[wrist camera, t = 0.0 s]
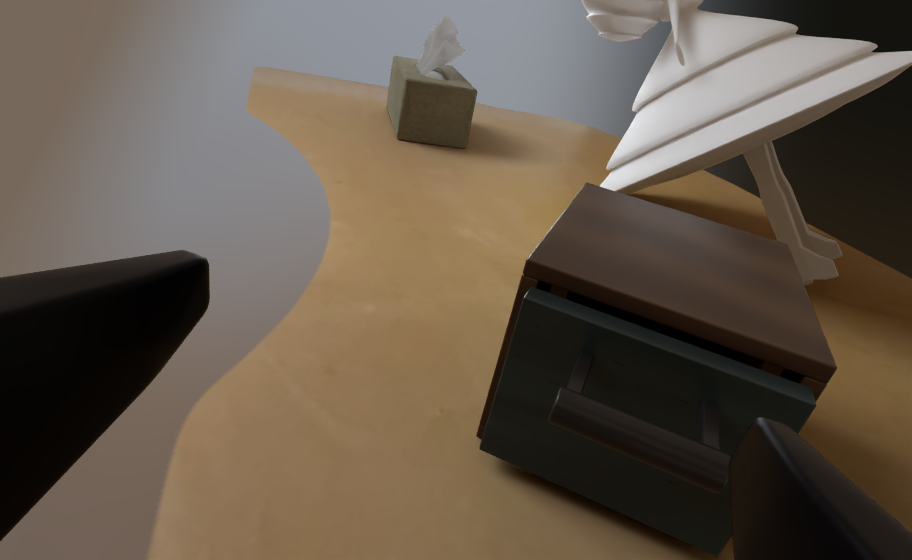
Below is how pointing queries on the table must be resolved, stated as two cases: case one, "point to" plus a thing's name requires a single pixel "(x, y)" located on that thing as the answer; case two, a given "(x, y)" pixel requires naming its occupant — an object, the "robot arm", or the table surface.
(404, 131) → the tissue box
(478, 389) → the table surface
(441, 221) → the table surface
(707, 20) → the figurine
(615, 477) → the drawer
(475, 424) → the table surface
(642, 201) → the cabinet
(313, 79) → the table surface
